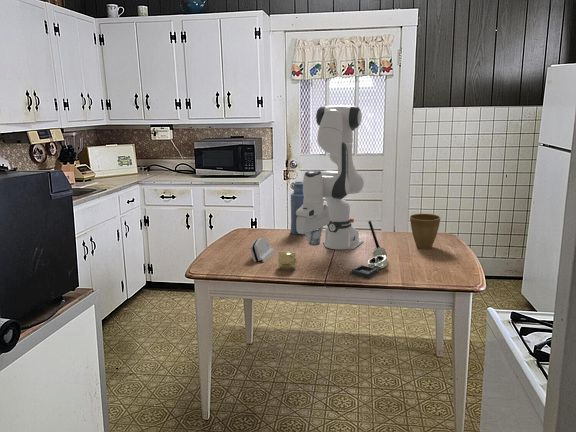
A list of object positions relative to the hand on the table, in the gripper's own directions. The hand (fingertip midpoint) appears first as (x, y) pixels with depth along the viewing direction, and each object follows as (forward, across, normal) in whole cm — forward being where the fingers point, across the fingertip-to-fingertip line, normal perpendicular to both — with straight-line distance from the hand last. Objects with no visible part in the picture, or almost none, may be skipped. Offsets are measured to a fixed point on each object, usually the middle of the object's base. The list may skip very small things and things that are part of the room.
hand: (314, 238), depth 214 cm
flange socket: (+15, -9, +20) cm, 27 cm away
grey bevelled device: (+15, 0, -32) cm, 35 cm away
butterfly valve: (+16, -22, +20) cm, 33 cm away
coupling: (+2, 0, 0) cm, 2 cm away
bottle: (+16, -45, -44) cm, 65 cm away
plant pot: (+17, -61, +24) cm, 68 cm away
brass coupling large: (+15, +5, -12) cm, 19 cm away
